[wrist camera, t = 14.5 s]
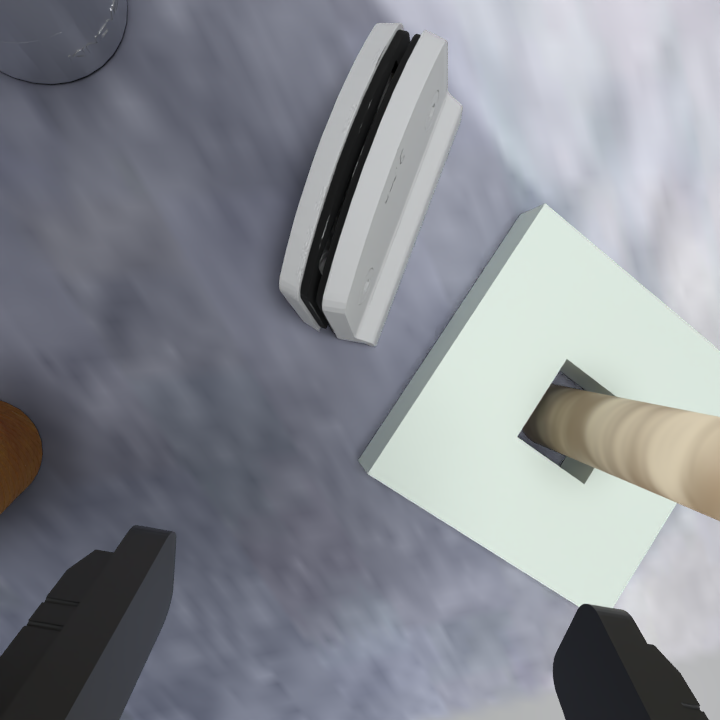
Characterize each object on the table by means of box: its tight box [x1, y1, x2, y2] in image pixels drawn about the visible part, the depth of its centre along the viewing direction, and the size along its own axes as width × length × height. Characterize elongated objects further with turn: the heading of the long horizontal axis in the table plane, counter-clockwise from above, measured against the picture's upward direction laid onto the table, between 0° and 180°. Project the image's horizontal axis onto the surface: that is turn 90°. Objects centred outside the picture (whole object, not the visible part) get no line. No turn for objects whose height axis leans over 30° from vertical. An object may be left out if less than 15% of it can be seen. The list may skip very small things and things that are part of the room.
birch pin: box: [522, 384, 720, 521], centre depth 27 cm, size 4×4×14 cm
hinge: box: [279, 23, 463, 347], centre depth 27 cm, size 17×5×10 cm, turn 159°
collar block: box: [358, 204, 720, 608], centre depth 33 cm, size 20×20×3 cm
